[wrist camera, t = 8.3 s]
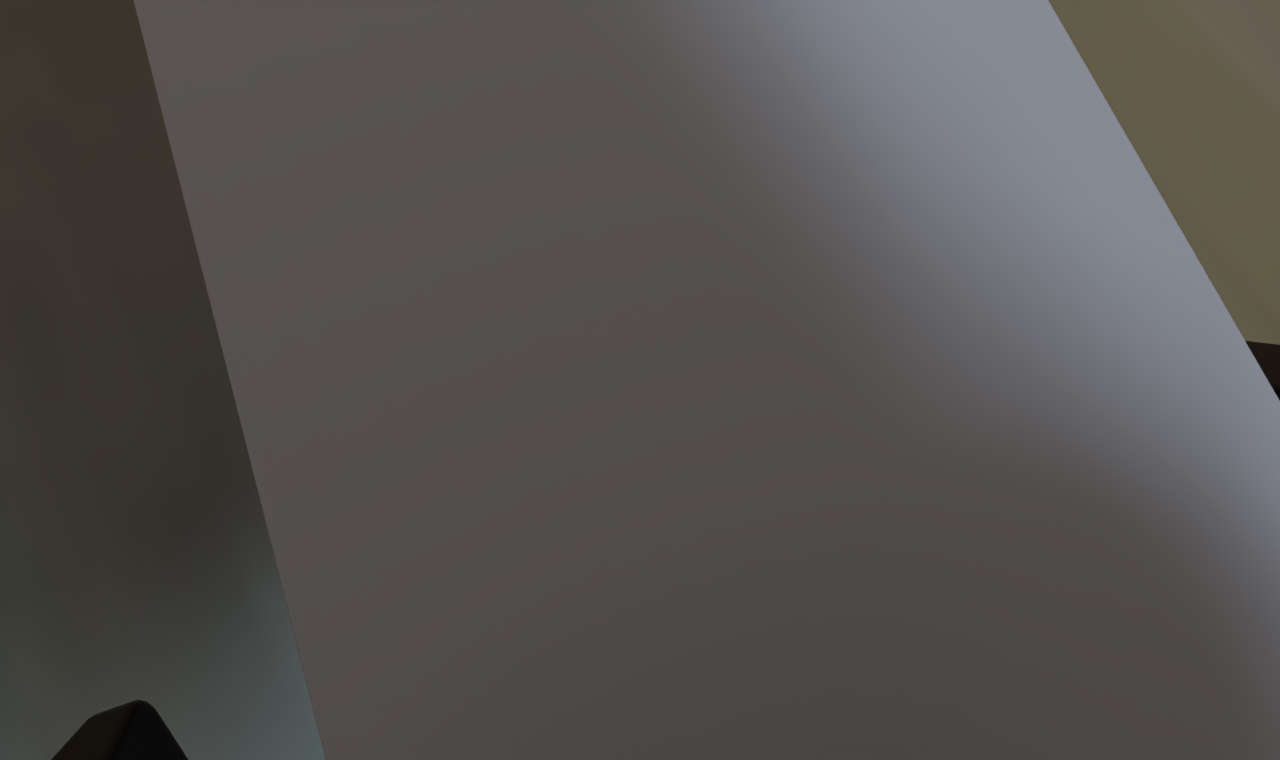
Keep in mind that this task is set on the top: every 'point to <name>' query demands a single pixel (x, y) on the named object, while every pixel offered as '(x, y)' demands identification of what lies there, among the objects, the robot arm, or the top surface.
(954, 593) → the grey rectangular prism
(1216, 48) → the top surface
